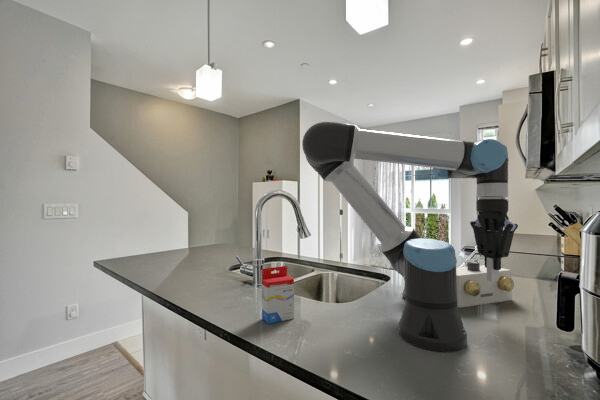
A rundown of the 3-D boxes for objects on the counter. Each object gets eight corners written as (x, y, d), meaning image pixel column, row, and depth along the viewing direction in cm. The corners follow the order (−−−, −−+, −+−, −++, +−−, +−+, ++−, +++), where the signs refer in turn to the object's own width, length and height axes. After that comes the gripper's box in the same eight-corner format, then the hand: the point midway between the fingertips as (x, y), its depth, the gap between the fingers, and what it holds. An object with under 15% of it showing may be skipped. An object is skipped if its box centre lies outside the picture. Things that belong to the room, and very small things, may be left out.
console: (460, 307, 87) (458, 275, 87) (438, 298, 95) (437, 269, 96) (512, 300, 93) (511, 270, 93) (487, 292, 101) (486, 264, 102)
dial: (474, 271, 92) (473, 263, 92) (464, 269, 96) (464, 261, 96) (482, 270, 93) (482, 262, 93) (473, 268, 97) (472, 260, 97)
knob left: (469, 297, 85) (469, 282, 85) (446, 288, 94) (446, 275, 94) (480, 295, 87) (480, 281, 87) (457, 287, 95) (456, 274, 95)
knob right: (503, 292, 89) (503, 278, 89) (479, 284, 98) (478, 272, 98) (514, 290, 90) (513, 277, 90) (488, 283, 99) (488, 271, 99)
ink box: (267, 324, 77) (266, 272, 77) (261, 318, 81) (260, 268, 82) (295, 318, 81) (294, 268, 81) (287, 313, 85) (287, 265, 86)
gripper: (525, 198, 75) (526, 285, 74) (481, 199, 87) (482, 274, 87) (504, 197, 73) (505, 287, 72) (462, 198, 85) (463, 275, 85)
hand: (492, 280), depth 80 cm, fingers closed
